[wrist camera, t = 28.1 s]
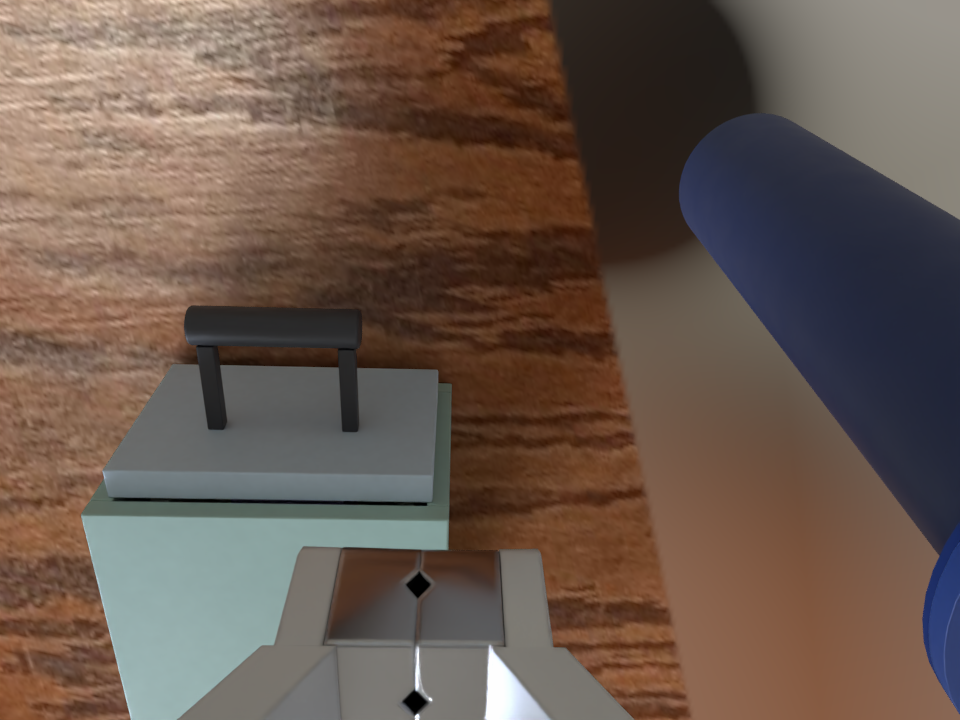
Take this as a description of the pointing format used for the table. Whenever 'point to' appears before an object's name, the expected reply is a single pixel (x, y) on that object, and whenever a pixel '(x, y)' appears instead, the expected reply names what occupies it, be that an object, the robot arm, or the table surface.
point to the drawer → (280, 419)
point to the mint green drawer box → (226, 575)
